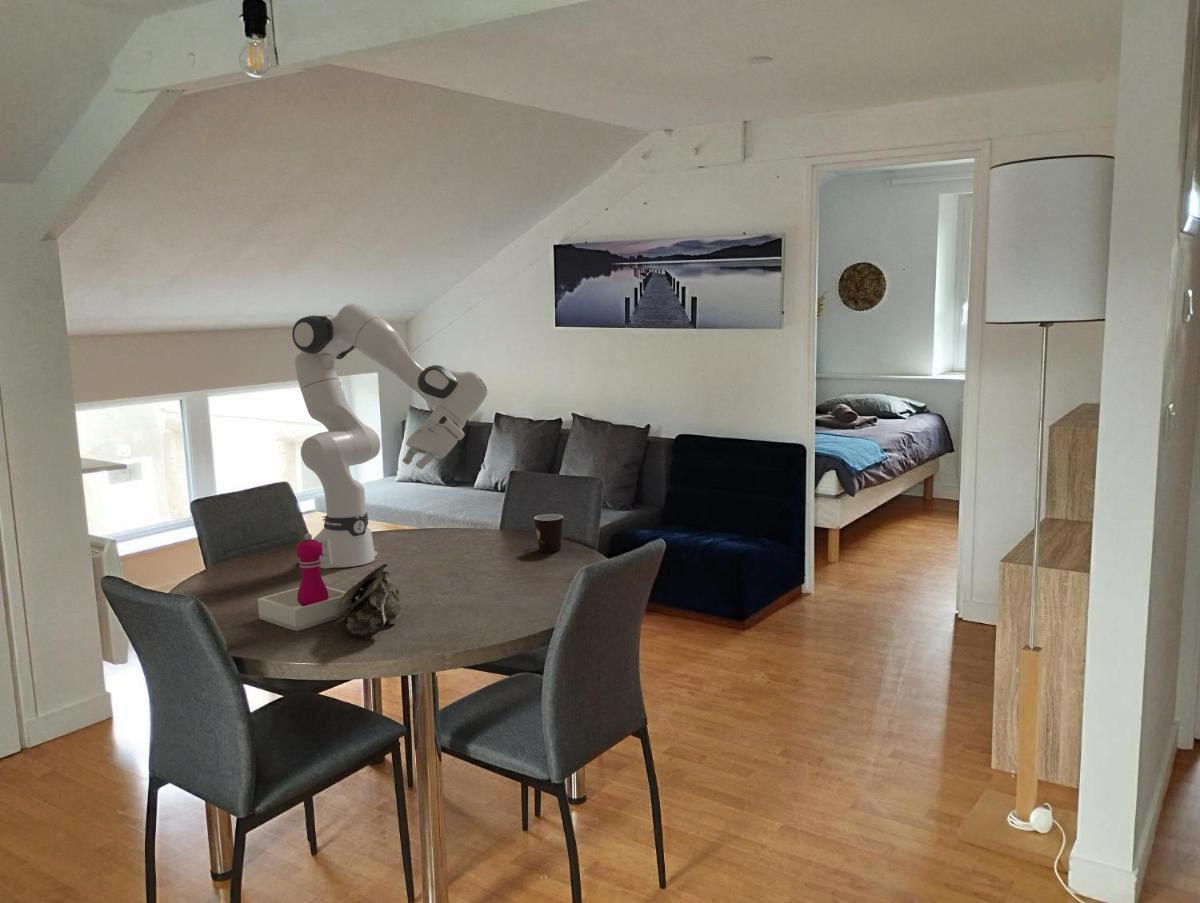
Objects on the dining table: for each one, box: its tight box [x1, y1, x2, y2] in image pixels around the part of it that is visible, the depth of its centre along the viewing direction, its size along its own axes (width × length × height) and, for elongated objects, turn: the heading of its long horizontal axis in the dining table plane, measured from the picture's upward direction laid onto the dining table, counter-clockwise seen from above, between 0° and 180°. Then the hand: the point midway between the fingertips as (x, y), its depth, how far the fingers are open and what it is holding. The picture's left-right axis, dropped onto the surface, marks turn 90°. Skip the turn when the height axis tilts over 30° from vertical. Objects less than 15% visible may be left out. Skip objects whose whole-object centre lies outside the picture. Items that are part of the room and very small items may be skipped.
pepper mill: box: [295, 532, 329, 607], centre depth 238 cm, size 7×7×20 cm
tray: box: [257, 585, 347, 632], centre depth 242 cm, size 16×16×5 cm
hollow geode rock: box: [334, 563, 403, 640], centre depth 232 cm, size 28×13×15 cm
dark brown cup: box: [533, 513, 564, 554], centre depth 299 cm, size 12×9×10 cm
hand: (411, 465), depth 264 cm, fingers open, 8 cm apart
